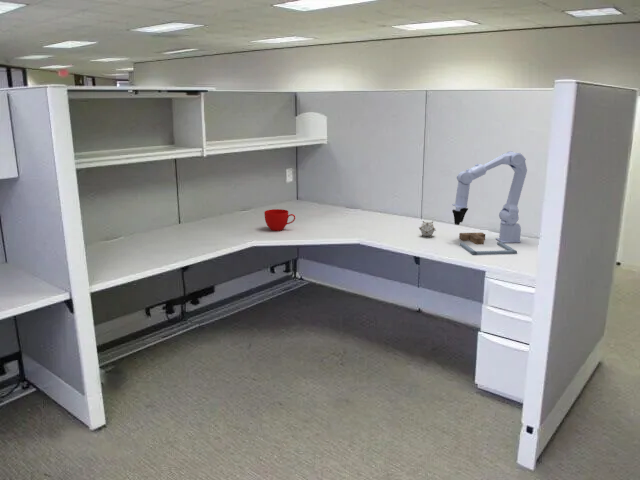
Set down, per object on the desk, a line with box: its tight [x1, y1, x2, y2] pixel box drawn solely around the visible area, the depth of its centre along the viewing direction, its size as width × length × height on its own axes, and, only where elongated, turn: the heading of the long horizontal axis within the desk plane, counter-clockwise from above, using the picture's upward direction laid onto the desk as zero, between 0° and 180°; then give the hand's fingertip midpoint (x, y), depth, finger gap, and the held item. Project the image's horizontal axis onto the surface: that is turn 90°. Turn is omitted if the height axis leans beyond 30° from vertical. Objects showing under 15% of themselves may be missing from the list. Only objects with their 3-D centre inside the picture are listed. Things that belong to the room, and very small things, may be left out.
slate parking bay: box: [459, 241, 518, 256], centre depth 256 cm, size 21×17×1 cm
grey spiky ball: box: [418, 220, 437, 238], centre depth 280 cm, size 9×8×10 cm
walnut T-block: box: [458, 232, 486, 246], centre depth 271 cm, size 12×12×3 cm
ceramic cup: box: [263, 208, 296, 232], centre depth 294 cm, size 13×17×10 cm
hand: (458, 223), depth 268 cm, fingers open, 7 cm apart
